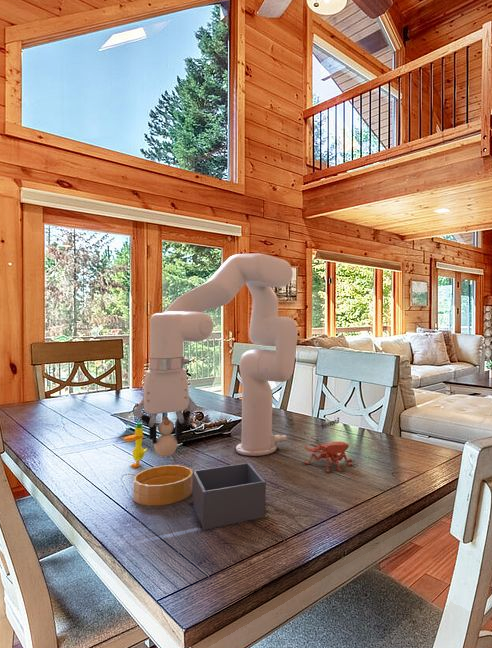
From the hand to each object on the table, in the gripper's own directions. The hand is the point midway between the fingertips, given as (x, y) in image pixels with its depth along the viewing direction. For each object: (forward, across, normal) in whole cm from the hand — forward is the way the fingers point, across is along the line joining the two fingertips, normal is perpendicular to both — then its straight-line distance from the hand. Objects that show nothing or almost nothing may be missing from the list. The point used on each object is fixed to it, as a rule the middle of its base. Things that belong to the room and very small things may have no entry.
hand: (165, 439), depth 107 cm
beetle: (+14, -44, -4) cm, 47 cm away
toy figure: (+14, +6, -24) cm, 28 cm away
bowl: (+13, 0, 0) cm, 13 cm away
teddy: (+4, 0, 0) cm, 4 cm away
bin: (+13, -12, +14) cm, 23 cm away
